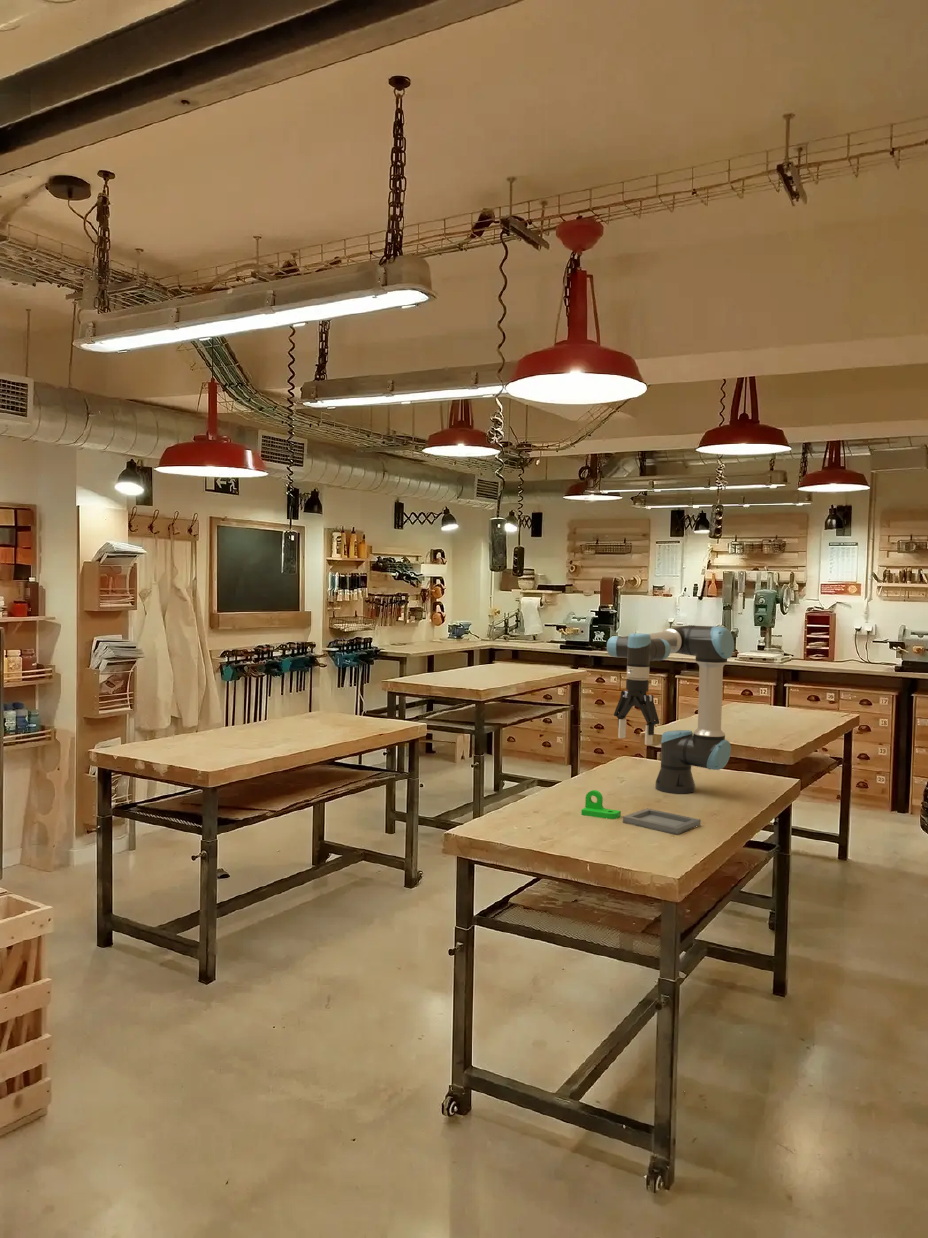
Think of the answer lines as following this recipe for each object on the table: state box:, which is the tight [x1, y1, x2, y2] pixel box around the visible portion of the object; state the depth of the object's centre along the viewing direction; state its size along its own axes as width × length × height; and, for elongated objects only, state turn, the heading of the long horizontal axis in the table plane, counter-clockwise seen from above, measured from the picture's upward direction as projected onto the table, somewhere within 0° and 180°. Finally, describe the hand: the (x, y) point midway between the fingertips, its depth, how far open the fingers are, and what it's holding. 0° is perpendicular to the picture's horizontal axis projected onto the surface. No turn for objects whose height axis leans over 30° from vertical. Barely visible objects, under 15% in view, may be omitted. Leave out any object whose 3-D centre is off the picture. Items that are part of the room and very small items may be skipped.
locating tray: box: [622, 807, 702, 836], centre depth 292 cm, size 16×20×2 cm
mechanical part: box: [580, 789, 621, 820], centre depth 301 cm, size 12×6×8 cm, turn 64°
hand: (634, 741), depth 297 cm, fingers open, 13 cm apart
